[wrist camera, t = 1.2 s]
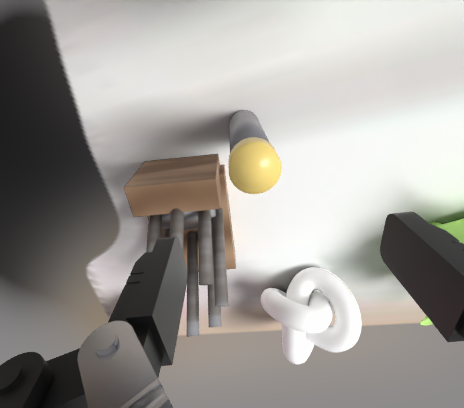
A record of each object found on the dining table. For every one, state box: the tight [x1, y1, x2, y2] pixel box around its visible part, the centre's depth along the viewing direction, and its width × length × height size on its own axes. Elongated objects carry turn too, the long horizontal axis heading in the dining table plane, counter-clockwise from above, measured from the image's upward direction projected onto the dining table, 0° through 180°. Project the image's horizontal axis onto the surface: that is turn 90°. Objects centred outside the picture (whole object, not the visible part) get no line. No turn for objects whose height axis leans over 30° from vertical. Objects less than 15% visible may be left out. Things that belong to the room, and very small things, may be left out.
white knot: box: [261, 267, 362, 364], centre depth 34 cm, size 11×12×9 cm
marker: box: [229, 110, 281, 194], centre depth 21 cm, size 3×3×12 cm
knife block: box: [124, 154, 236, 337], centre depth 26 cm, size 15×9×11 cm, turn 6°
